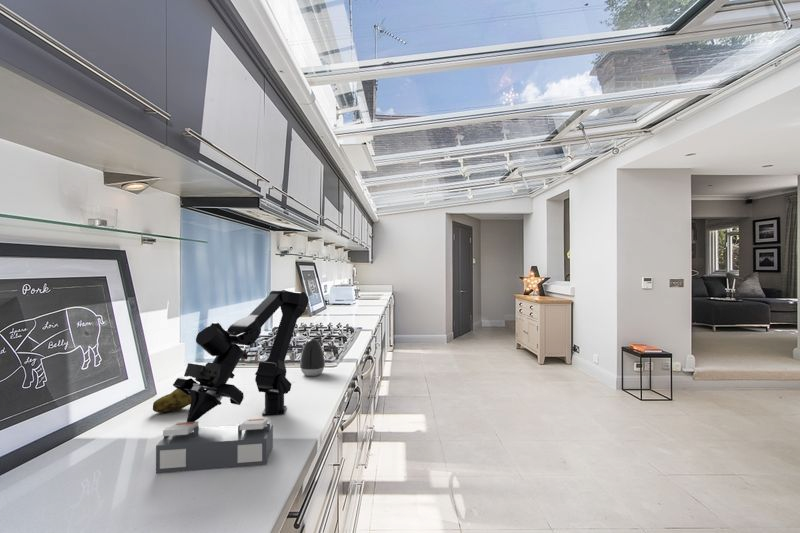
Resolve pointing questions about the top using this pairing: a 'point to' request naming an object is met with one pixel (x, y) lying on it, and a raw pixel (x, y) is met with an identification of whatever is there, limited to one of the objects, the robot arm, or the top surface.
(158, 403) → the potato
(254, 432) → the power strip
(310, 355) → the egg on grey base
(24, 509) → the top surface
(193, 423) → the outlet rocker
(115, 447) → the top surface
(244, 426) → the rocker switch
